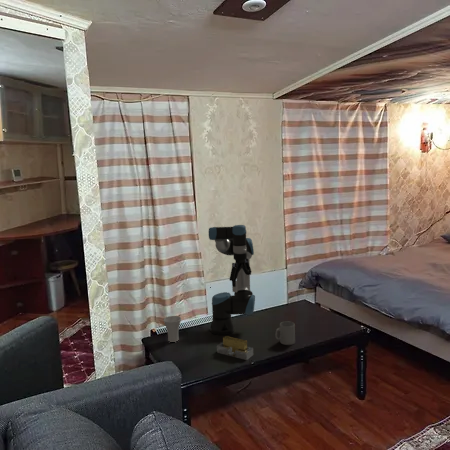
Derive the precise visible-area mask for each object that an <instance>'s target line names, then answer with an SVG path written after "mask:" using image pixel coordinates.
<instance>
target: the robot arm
mask: <svg viewBox="0 0 450 450" xmlns="http://www.w3.org/2000/svg"><path fill="white" fill-rule="evenodd" d="M246 228H247V227H246V226H245V225H244V224H235V225H233V226H214V227H213V226H212V227H211V226H210V227H209V228H208V239H209V240H210V241H214V242H215V249H216V250H217V251H218V252H219V253H221V254H222V255H226V256H233V260H234V261H235V262H232V263H231V271H230V275H229V281H230V282H231V284H232V285H231V288H232V293H234V295H233V294H232V295H231V293H230V292H225V291H224V292H220V293H219V292H218V293H216V294H214V295H213V296H212V297H211V306H212V307H211V309H212V311H211V312H212V321H211V324H210V333H211V334H213V335H218V336H227V335H230V334H232V333H234V332H235V324H234V322H233V319H232V315H244V316H245V315H252V314H253V313H254V312H255V306H256V305H255V303H256V302H255V301H256V295H254V293H253V291H252V290H251V275H252V268H251V265H250V261H251V259H252V256H254V255H255V254H254V253H255V252H254V245H253V240H252V239H251V238H250V237H247V229H246Z"/></svg>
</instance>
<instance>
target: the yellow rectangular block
mask: <svg viewBox="0 0 450 450" xmlns="http://www.w3.org/2000/svg"><path fill="white" fill-rule="evenodd" d="M222 342H223V345H224V346H225V347H232V352H235V350H236V349H240V350H241V351H246V350H247V347H248V340H245V339H242V338H241V339H240V338H237V337H232V336H229V335H224V336H223V337H222Z"/></svg>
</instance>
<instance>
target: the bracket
mask: <svg viewBox="0 0 450 450" xmlns="http://www.w3.org/2000/svg"><path fill="white" fill-rule="evenodd" d="M216 352H217V354H221V355H225V356H228V357H233V358H237V359H240V360H245V361H249V359H250V358H251V357H253V356H254V347H251V346H247V350H246V351H241V350H240V349H236V350H235V352H232V347H225V346H224V345H223V341H222V342H220V343H219V344H217V345H216Z"/></svg>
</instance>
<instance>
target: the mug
mask: <svg viewBox="0 0 450 450" xmlns="http://www.w3.org/2000/svg"><path fill="white" fill-rule="evenodd" d="M295 327H296V325H295V323H294V322H293V321H288V320H287V321H285V320H284V321H282V322H280V323H279V327H278V328H276V329H275V332H274V334H275V339H276V340H278V341H279V343H280V344H282V345H284V346H291V345H294V344H295V343H296V334H295V333H296V330H295V329H296V328H295ZM278 332H279V336H278Z"/></svg>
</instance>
